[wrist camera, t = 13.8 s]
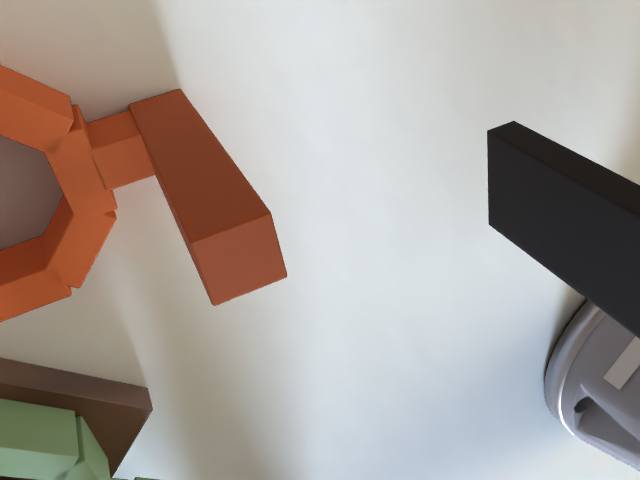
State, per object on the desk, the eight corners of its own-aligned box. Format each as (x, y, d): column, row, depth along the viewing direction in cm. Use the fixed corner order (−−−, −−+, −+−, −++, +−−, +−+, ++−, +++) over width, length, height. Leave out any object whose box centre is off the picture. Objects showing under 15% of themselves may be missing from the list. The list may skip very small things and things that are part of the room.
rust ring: (-86, 315, 23) (-149, 568, 15) (-242, 106, 18) (-467, 302, 10) (218, 205, 26) (311, 365, 17) (151, -2, 21) (237, 81, 13)
